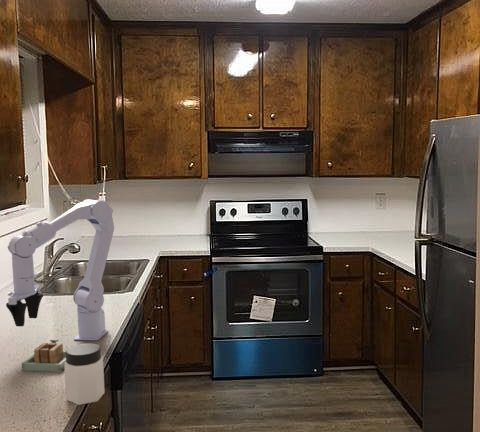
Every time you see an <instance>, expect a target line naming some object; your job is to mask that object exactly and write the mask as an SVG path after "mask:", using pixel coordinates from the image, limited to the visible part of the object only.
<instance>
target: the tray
mask: <svg viewBox="0 0 480 432" xmlns="http://www.w3.org/2000/svg"><path fill="white" fill-rule="evenodd" d="M33 358H35V356H34V354H32V355H31V356H30V357H28V358H27V359H25V361H22V363H21V371H23V372H24V371H25V372H49V371H51V373H53V372H55V371H61V372H62V371H63V370H65V367H64V363H65V362H66V350H63V359H62V360H61V361H60V362H59V363H58V364H54V363H34V361H33ZM52 371H53V372H52ZM55 373H56V372H55Z"/></svg>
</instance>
